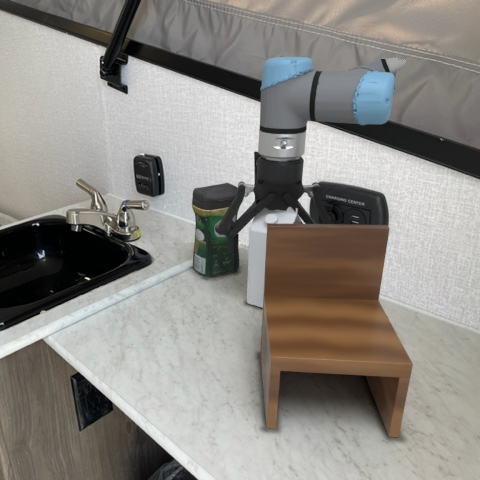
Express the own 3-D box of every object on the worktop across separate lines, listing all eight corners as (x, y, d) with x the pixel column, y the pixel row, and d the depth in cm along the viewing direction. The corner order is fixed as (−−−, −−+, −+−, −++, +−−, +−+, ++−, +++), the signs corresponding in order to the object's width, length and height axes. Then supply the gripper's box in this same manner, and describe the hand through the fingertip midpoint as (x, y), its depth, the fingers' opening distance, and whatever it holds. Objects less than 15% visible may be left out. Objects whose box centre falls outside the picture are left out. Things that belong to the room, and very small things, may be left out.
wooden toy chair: (398, 437, 61) (429, 278, 53) (266, 428, 63) (276, 274, 55) (366, 359, 76) (387, 224, 67) (260, 353, 78) (267, 223, 70)
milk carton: (262, 288, 98) (267, 196, 90) (297, 298, 94) (305, 202, 87) (246, 303, 93) (249, 207, 85) (282, 314, 89) (289, 214, 81)
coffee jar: (225, 257, 112) (226, 177, 105) (244, 271, 105) (247, 186, 98) (187, 266, 108) (185, 184, 101) (204, 281, 101) (204, 194, 94)
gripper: (204, 160, 81) (203, 277, 89) (364, 162, 78) (348, 282, 86) (206, 150, 88) (205, 259, 96) (353, 151, 84) (339, 263, 93)
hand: (272, 270), depth 91 cm, fingers open, 13 cm apart
